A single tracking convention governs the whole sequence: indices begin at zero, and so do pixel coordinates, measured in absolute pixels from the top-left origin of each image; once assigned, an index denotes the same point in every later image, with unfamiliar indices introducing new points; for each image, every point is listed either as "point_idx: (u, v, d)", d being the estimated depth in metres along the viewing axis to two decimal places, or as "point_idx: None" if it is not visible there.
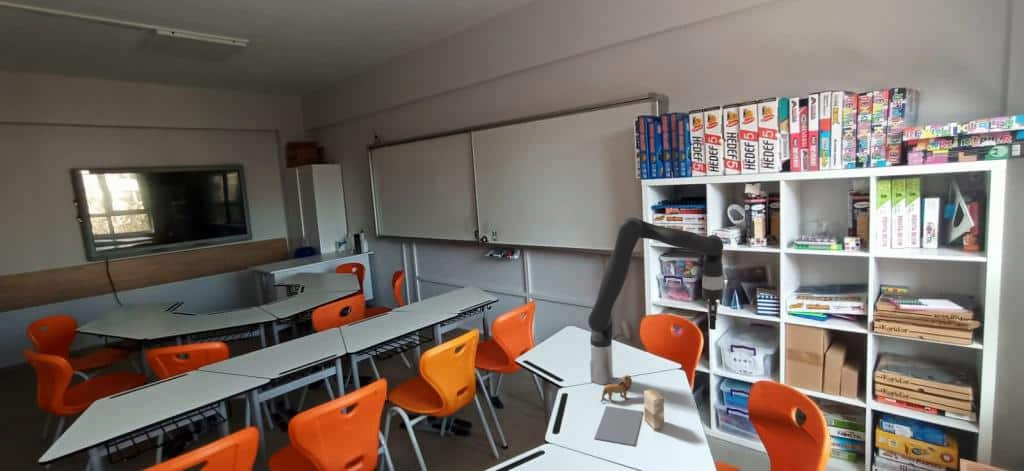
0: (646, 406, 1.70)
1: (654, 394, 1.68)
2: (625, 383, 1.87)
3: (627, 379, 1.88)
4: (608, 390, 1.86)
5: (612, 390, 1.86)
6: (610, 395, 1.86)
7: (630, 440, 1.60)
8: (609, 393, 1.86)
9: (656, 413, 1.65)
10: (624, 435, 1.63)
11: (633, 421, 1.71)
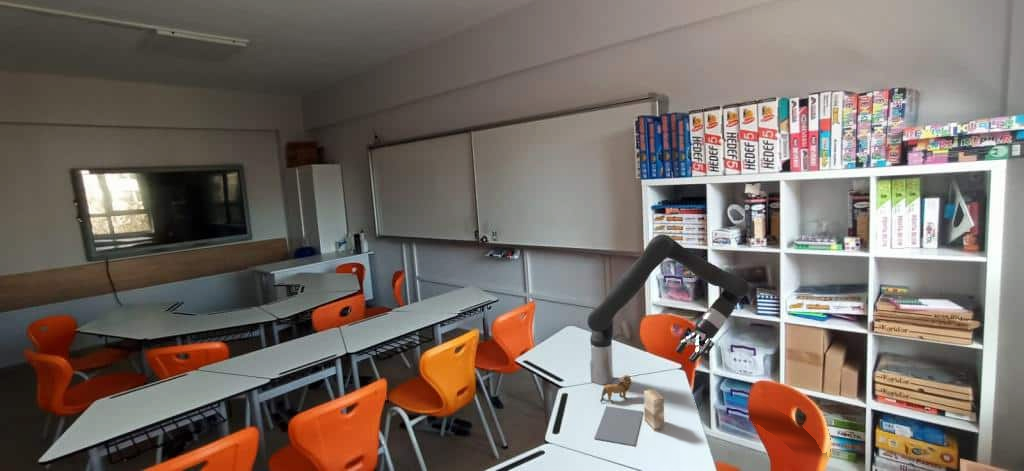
0: (646, 406, 1.70)
1: (654, 394, 1.68)
2: (624, 383, 1.87)
3: (627, 379, 1.88)
4: (607, 390, 1.86)
5: (611, 390, 1.86)
6: (609, 395, 1.86)
7: (630, 440, 1.60)
8: (608, 393, 1.86)
9: (656, 413, 1.65)
10: (624, 435, 1.63)
11: (633, 421, 1.71)
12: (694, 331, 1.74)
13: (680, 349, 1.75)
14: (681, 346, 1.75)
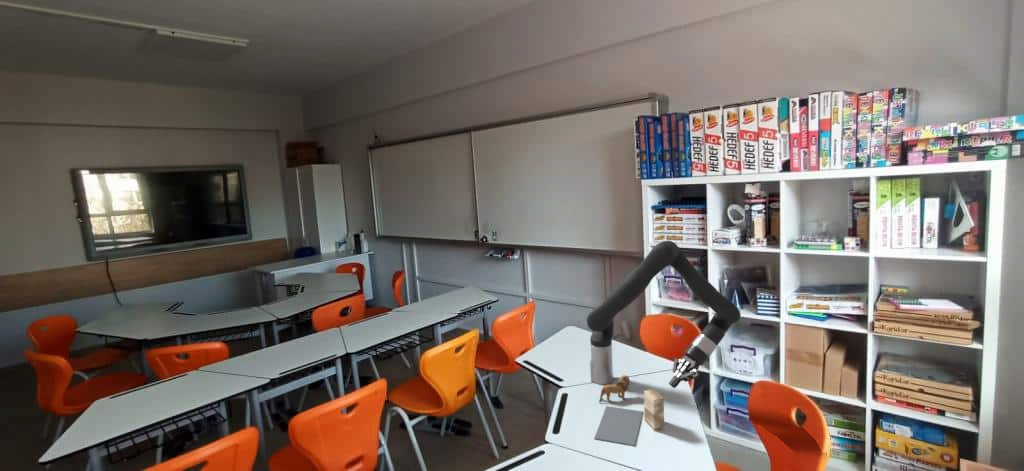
0: (646, 406, 1.70)
1: (654, 394, 1.68)
2: (623, 383, 1.87)
3: (625, 379, 1.88)
4: (606, 390, 1.86)
5: (610, 390, 1.86)
6: (608, 395, 1.86)
7: (630, 440, 1.60)
8: (607, 393, 1.86)
9: (656, 413, 1.65)
10: (624, 435, 1.63)
11: (633, 421, 1.71)
12: (683, 357, 1.72)
13: None
14: None
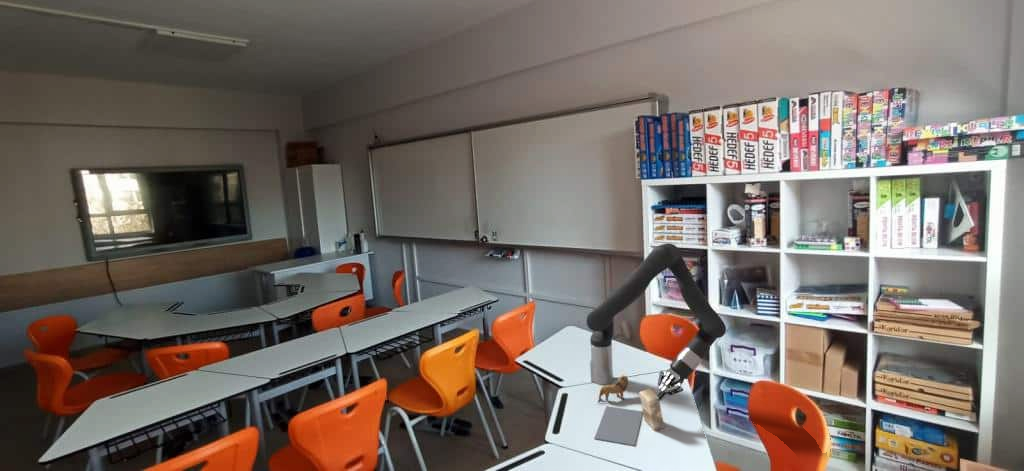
0: (643, 406, 1.70)
1: (649, 394, 1.67)
2: (621, 384, 1.87)
3: (624, 379, 1.88)
4: (605, 391, 1.86)
5: (609, 391, 1.86)
6: (607, 396, 1.86)
7: (630, 440, 1.60)
8: (606, 394, 1.86)
9: (654, 413, 1.65)
10: (624, 435, 1.63)
11: (633, 421, 1.71)
12: (668, 370, 1.71)
13: None
14: None
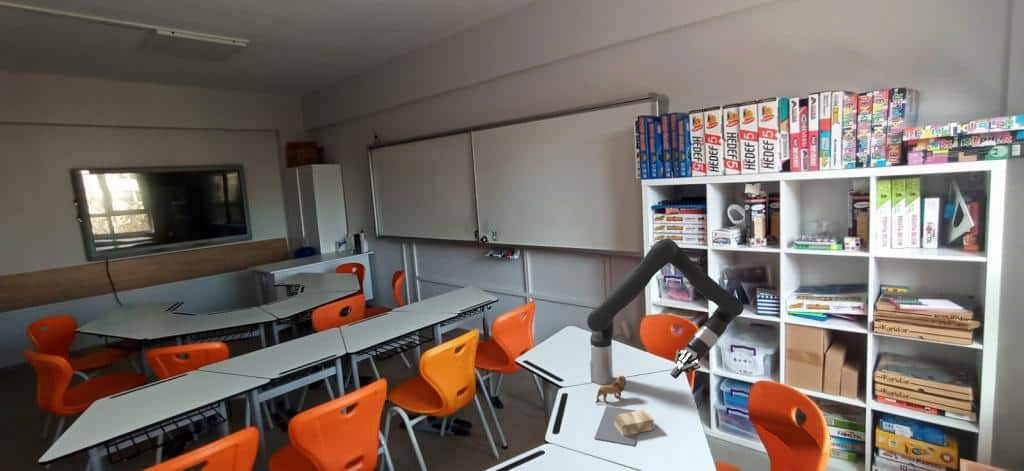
0: None
1: (618, 423, 1.66)
2: (619, 384, 1.87)
3: (622, 379, 1.88)
4: (603, 391, 1.85)
5: (607, 391, 1.86)
6: (605, 396, 1.86)
7: (630, 440, 1.60)
8: (604, 394, 1.86)
9: (637, 429, 1.64)
10: None
11: None
12: (685, 348, 1.73)
13: None
14: None
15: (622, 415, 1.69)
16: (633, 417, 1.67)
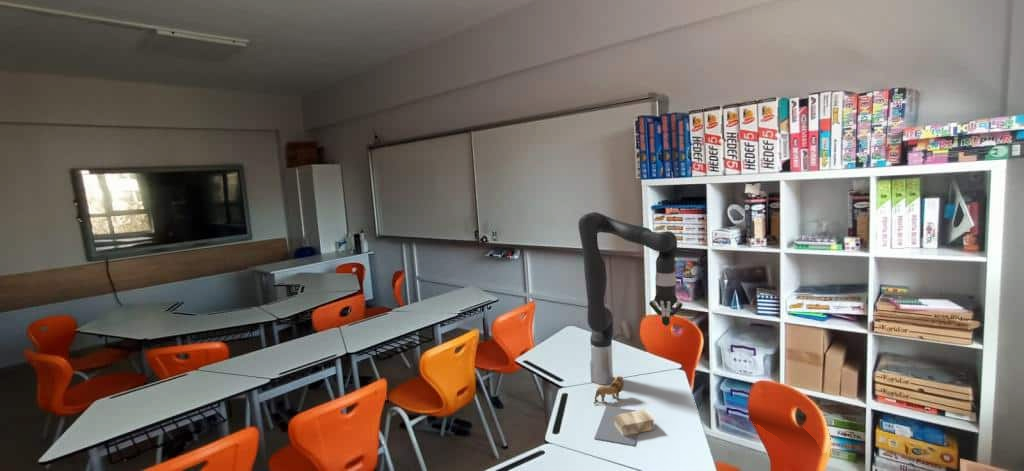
0: None
1: (618, 423, 1.66)
2: (617, 384, 1.87)
3: (620, 380, 1.87)
4: (601, 392, 1.85)
5: (605, 392, 1.85)
6: (603, 397, 1.85)
7: (630, 440, 1.60)
8: (602, 395, 1.85)
9: (637, 429, 1.64)
10: None
11: None
12: (657, 298, 1.81)
13: None
14: None
15: (622, 415, 1.69)
16: (633, 417, 1.67)
